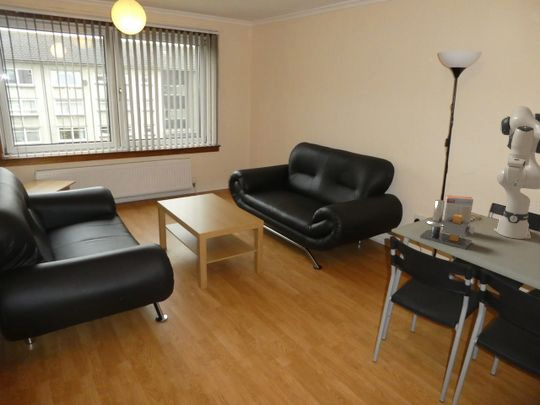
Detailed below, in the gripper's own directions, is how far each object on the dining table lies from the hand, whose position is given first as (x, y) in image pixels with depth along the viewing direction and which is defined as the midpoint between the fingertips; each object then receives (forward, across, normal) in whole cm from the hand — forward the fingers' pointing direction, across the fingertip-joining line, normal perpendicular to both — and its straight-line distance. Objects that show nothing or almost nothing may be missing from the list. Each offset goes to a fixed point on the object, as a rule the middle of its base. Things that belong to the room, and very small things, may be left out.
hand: (512, 188), depth 195 cm
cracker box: (+34, -15, -27) cm, 46 cm away
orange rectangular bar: (+33, +4, -22) cm, 39 cm away
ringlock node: (+34, +4, -26) cm, 43 cm away
